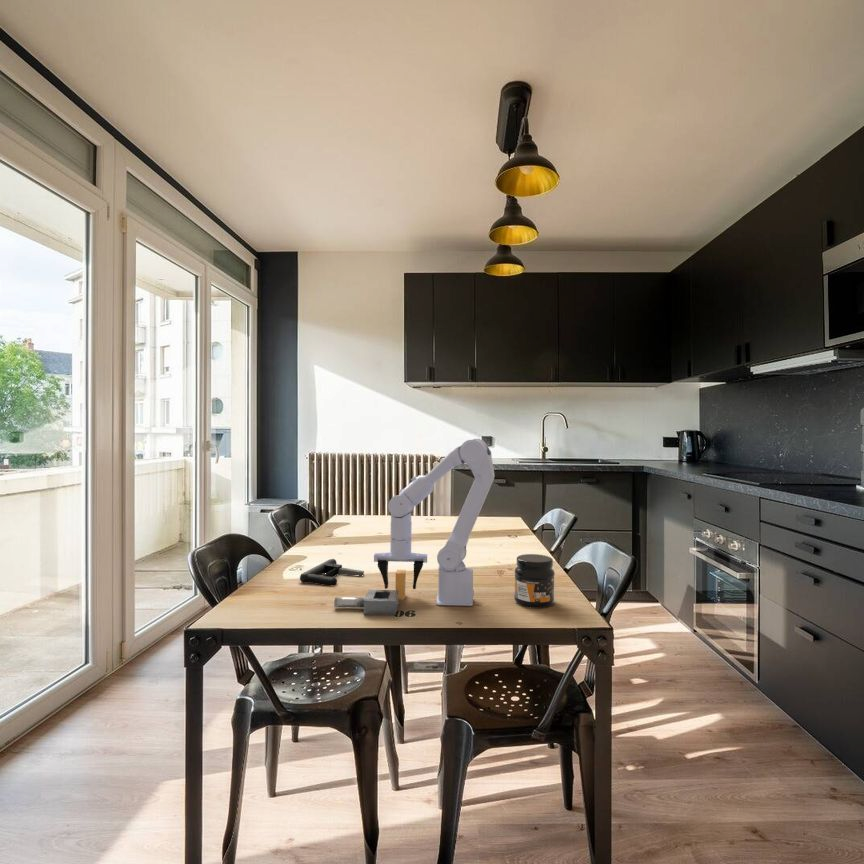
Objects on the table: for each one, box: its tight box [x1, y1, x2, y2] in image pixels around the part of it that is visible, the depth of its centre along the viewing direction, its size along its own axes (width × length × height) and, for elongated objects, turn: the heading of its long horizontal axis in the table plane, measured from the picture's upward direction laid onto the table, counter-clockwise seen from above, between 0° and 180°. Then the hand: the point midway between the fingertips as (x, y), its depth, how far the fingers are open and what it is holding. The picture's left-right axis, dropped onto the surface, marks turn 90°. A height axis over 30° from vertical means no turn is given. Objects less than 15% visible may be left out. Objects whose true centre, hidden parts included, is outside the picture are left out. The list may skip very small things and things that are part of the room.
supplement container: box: [514, 553, 556, 609], centre depth 148 cm, size 10×10×12 cm
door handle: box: [299, 558, 365, 586], centre depth 172 cm, size 3×20×16 cm
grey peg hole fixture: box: [333, 589, 400, 616], centre depth 142 cm, size 16×9×4 cm, turn 89°
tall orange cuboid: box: [395, 569, 407, 600], centre depth 152 cm, size 2×4×7 cm, turn 179°
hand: (400, 587), depth 152 cm, fingers open, 7 cm apart
